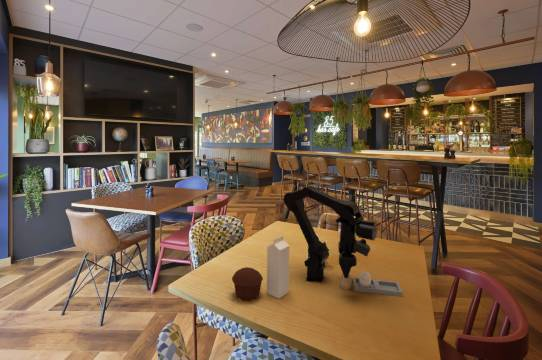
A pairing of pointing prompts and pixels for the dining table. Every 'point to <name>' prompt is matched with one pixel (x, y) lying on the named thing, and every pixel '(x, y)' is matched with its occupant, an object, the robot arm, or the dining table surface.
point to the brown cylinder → (345, 282)
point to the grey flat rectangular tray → (379, 287)
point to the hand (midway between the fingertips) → (345, 272)
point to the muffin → (247, 283)
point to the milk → (278, 268)
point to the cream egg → (365, 280)
